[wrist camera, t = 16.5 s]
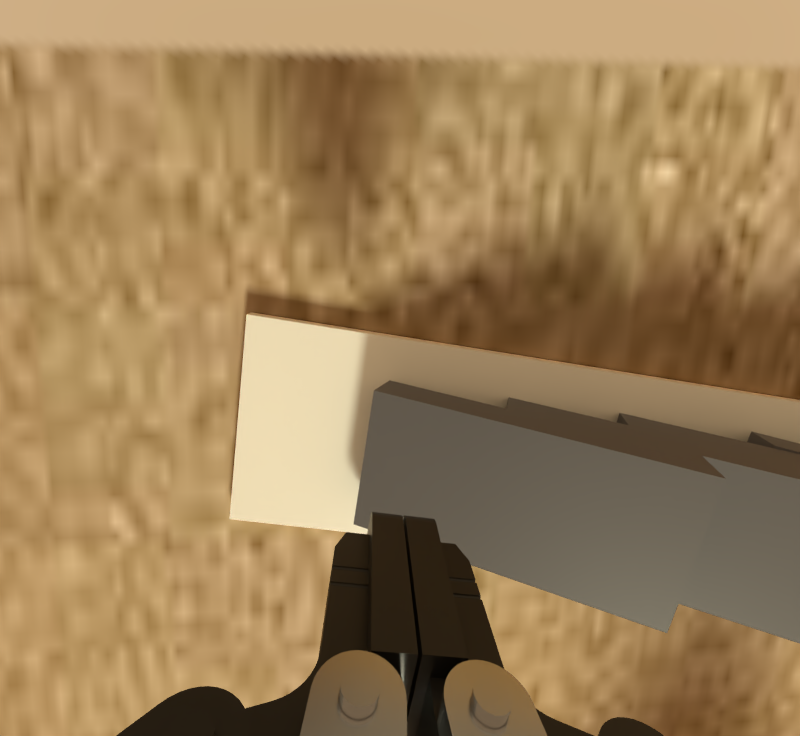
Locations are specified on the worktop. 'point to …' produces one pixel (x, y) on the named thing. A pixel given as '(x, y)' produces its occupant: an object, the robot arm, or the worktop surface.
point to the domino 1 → (542, 498)
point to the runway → (433, 370)
